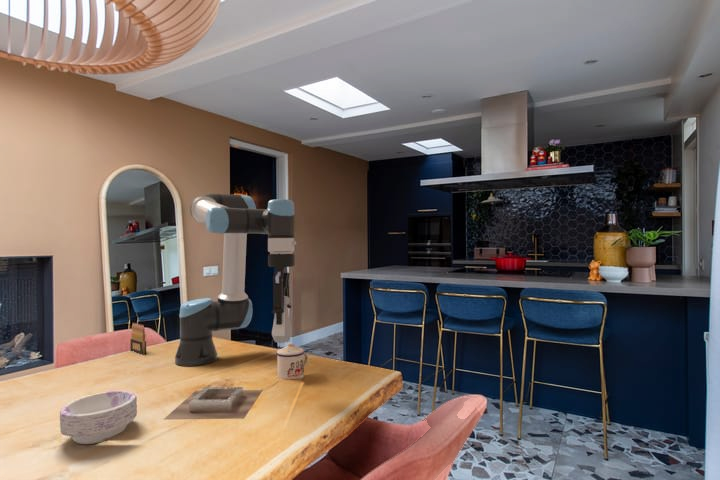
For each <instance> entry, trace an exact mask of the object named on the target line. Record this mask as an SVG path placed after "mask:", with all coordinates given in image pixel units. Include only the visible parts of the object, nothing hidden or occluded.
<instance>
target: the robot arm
mask: <svg viewBox="0 0 720 480" xmlns="http://www.w3.org/2000/svg"><path fill="white" fill-rule="evenodd" d="M189 211H190V215H191V217H192V218H193V219H194V220H195V221H197V222H198V223H199V224H205V227H206V230H207V232H208V233H211V234H219V235H222V234H223V255H222V256H223V257H222V258H223V259H222V279H221V280H222V282H221V283H222V284H221V285H222V287H221V293H220V294H218V295H217V300H216V301H213V299H212V298H210V297H209V298H208V297H204V298H198V299H192V300H188V301H186V302H183V303H182V304H181V305H180V307H179V344H178V347H177V350H176V353H175V357H174V364H175V365H177V366H183V367H193V366H194V367H195V366H202V365H207V364H211V363H214V362H215V361H217V359H218V351H217V348H216V346H215V343H214V341H213V332H220V331H228V330H230V331H231V330H239V329H244V328H247V327H248V326H249V324H251V323H250V322H252V318H253V311H254V310H253V303H252V300H251V299H250V298H249V296H248V294H247V293H246V292H245V288H246V285H245V283H246V282H245V281H246V280H245V279H246V264H247V263H246V262H247V261H246V258H247V257H246V256H247V240H248V239H247V238H248V237H247V236H248V234H260V235H261V234H262V235H267V252H268V255H267V266H268V267H269V268H275V270H274V271H275V272H274V273H273V276H272V310H271V314H274V317H275V336H285V312H284V296H287V297H289V300H290V299H291V297H290V295H291V294H290V275H291V273H290V272H288V268H290V267H295V265H296V264H295V261H296V260H295V254H294V252H295V245H297V241H296V240H295V215H296V212H295V203H294V201H292V200H290V199H283V198H280V199H278V198H277V199H270V200H269V201H268V203H267V208H266V209H265V208H257V206H256V204H255V200H254V199H253V198H252V197H251V196H249V195H244V194H232V193H231V194H228V193H225V194H224V193H206V194H202V195H201V194H200V195H199V196H197V197H196V198H194V199H193V200H192V202H191V203H190V206H189ZM290 304H291V302H290V301H289V304H288V305H287V308H288V313H289V312H290V310H289V309H291V308H292V305H290ZM289 314H290V313H289Z"/></svg>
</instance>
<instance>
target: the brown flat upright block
mask: <svg viewBox="0 0 720 480" xmlns="http://www.w3.org/2000/svg"><path fill="white" fill-rule="evenodd" d="M130 333H131V335H130V337H131V338H130V344H129V345H130V347H129V348H130V349H129V351H130V352H132V351H134V352H133V353H135V352H136V354H138V353H139V355H141V354H143V355H147V341H146V332H145V326H144V324H140V323H136V322H132V325H131V332H130Z"/></svg>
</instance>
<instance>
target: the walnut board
mask: <svg viewBox="0 0 720 480" xmlns="http://www.w3.org/2000/svg"><path fill="white" fill-rule="evenodd" d="M200 391H201V390H195V391H194V392H193V393H192V394H190V395H189V396H188V397H187V398H185V399H184V400H183V402H181V403H180V404H179V405H178V406H177V407H175V409H174V410H172V411H171V412H170V413H169V414H168V415H166V417H164V418H163V420H212V419H213V420H220V419H221V420H222V419H225V420H226V419H231V420H233V419H236V420H237V419H245V418H246V416H247V415H248V413H249V411H250V410H251V408H252V407H253V405H254V404H255V402H256V401H257V399H258V398H259V396H260V395H261V394H262V392H263V389H243V397H242V398H241V399H240V401H239V402H238V403H237V405H236V406H235V407H234V408H233V410H232V411H204V412H189V402H190V401H191V400H192V399H193V398H194V397H195V396H196V395H197V394H198V393H199V392H200ZM221 399H228V398H208V399H207V400H221Z"/></svg>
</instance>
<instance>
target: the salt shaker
mask: <svg viewBox="0 0 720 480" xmlns="http://www.w3.org/2000/svg"><path fill="white" fill-rule="evenodd" d="M289 301H290V300H289V297H287V296H284V312H285V336H275V316H274V318H273V324H272V329H271V336H272V338H273V341H274V343H277V344H285V343H290V340H291V337H292V335H293V329H292V323H291V318H290V313H288V309H289V308H287V305H288V304H289Z"/></svg>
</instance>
